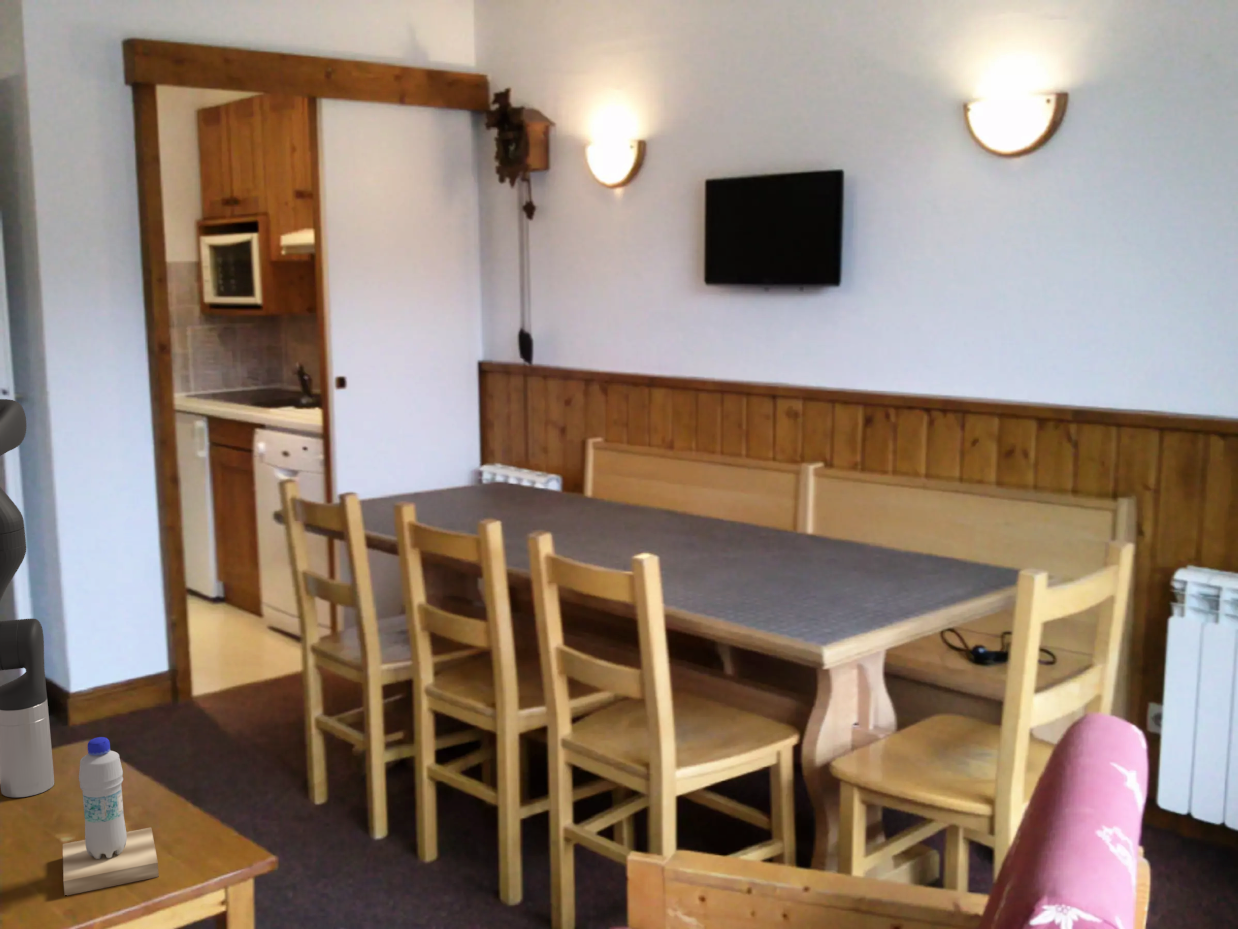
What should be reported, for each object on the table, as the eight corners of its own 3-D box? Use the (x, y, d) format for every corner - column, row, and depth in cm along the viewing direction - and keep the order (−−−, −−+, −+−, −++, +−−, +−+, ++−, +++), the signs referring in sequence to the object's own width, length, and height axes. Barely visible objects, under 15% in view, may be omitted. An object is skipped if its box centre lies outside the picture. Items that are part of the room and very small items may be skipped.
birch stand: (63, 857, 203) (62, 844, 203) (152, 841, 209) (151, 827, 208) (64, 896, 191) (63, 881, 190) (158, 876, 196) (157, 862, 196)
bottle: (132, 856, 198) (123, 740, 195) (88, 866, 195) (78, 749, 192) (125, 840, 204) (116, 727, 201) (82, 849, 201) (73, 735, 197)
